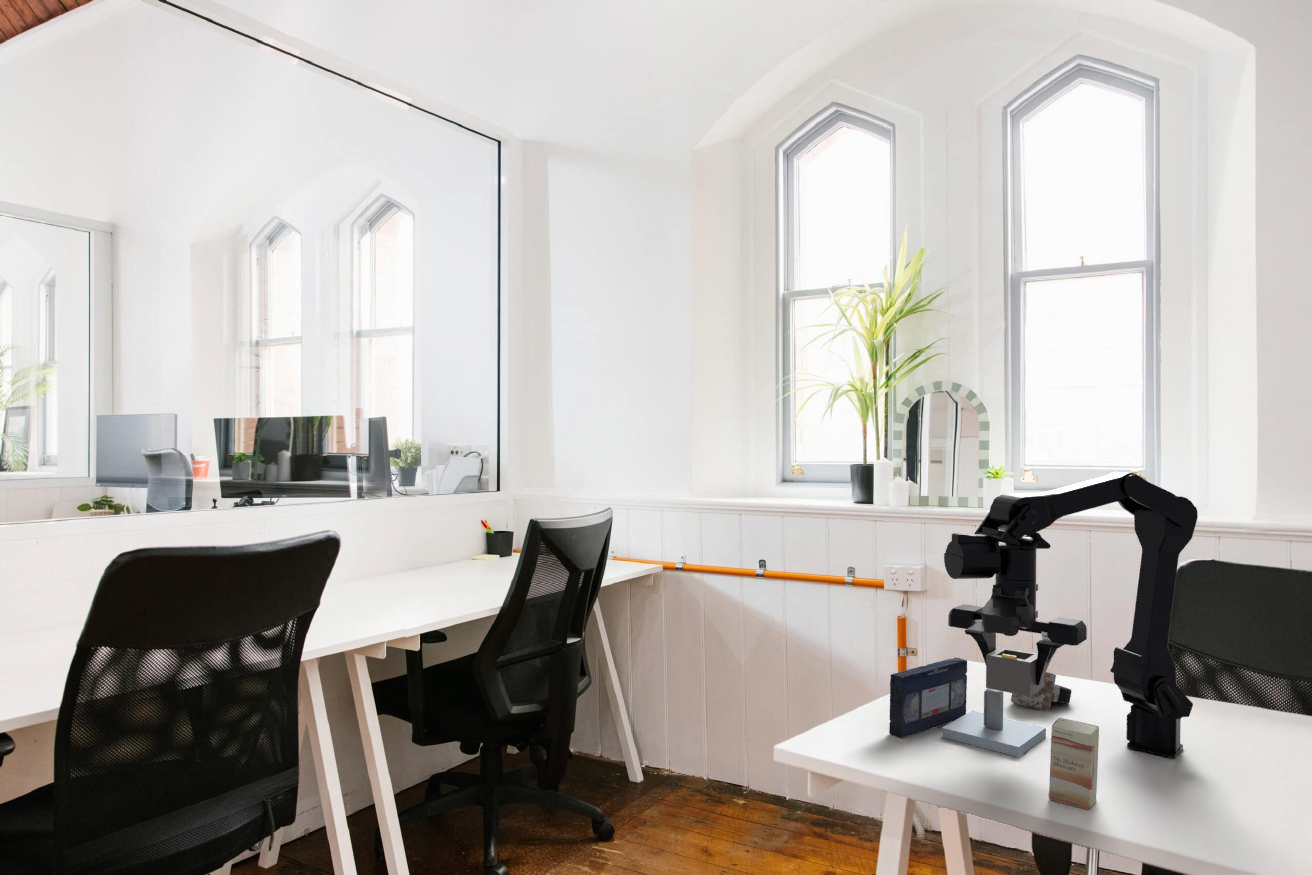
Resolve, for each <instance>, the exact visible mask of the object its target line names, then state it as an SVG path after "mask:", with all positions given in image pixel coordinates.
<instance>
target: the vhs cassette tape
mask: <svg viewBox="0 0 1312 875" xmlns="http://www.w3.org/2000/svg"><path fill="white" fill-rule="evenodd" d="M967 673H968V660H966V659H964V658H961V657H953V658H947V659H944V660H941V661H940V660H939V661H936V662H933V663H929V664H926V665H921V666H917V667H914V668H910V669H905V670H902V671H900V672H895V673H892V674H890V680H889V681H890V682H889V691H890V692H889V694H890V695H889V723H888V724H889V726H888V727H889V732H888V733H889V735H891V736H894V737H897V738H899V739H904V738H907V737H910V736H914V735H916V734H917V735H918V734H920V733H922V732H925V731H929V730H931V729H934V728H937V727H941V726H944V725H948V724H950V723H951V722H953V721H955V720H957V719H958V718H960V717H962V716H964V715H965V714H967V689H968V687H967V686H968V684H967V683H968V675H967Z"/></svg>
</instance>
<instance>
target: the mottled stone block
mask: <svg viewBox="0 0 1312 875" xmlns="http://www.w3.org/2000/svg"><path fill="white" fill-rule="evenodd" d="M1056 678H1057V675H1056V674H1055V673H1051V672H1047V671H1046V673H1045V675H1044V687H1043V688H1042V689H1040V690H1039V691H1037V692H1036V693H1035V694H1033V695H1032V696H1030V697H1029V696H1024V695H1019V694H1014V693H1011V695H1010V696H1011V698H1010V702H1011V703H1014V704H1018V705H1021V706H1024V707H1028V708H1032V709H1037V710H1040V711H1043V712H1050V710H1051V705H1052V702H1053V703H1054V702H1055V703H1057V702H1059V703H1062V704H1070V702H1071V697H1072V689H1071V688H1068V687H1066V686H1062V685H1058V684H1056Z"/></svg>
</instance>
